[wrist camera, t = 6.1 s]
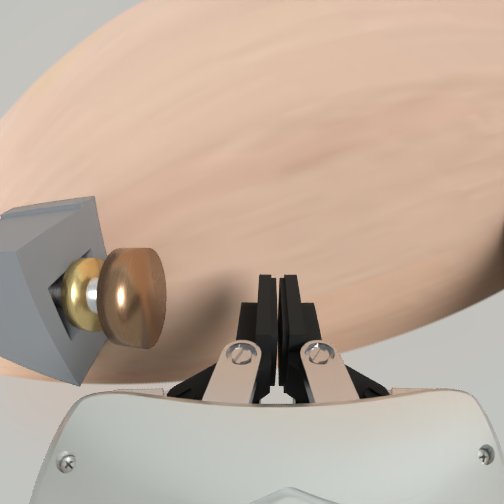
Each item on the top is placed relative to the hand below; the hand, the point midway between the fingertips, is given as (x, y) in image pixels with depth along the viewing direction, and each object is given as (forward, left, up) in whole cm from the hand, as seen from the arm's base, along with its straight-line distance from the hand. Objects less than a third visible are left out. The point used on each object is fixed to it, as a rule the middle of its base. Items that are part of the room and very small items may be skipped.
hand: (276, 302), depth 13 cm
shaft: (+12, 0, -3) cm, 13 cm away
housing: (+15, 0, -4) cm, 16 cm away
